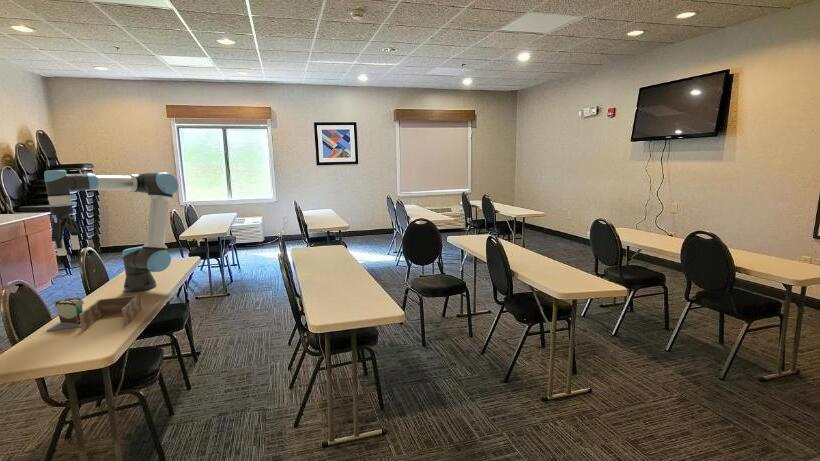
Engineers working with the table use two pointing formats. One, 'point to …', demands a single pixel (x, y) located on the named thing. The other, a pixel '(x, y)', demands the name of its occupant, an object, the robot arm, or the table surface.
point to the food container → (69, 310)
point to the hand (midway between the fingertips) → (69, 252)
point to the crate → (111, 309)
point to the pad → (63, 326)
